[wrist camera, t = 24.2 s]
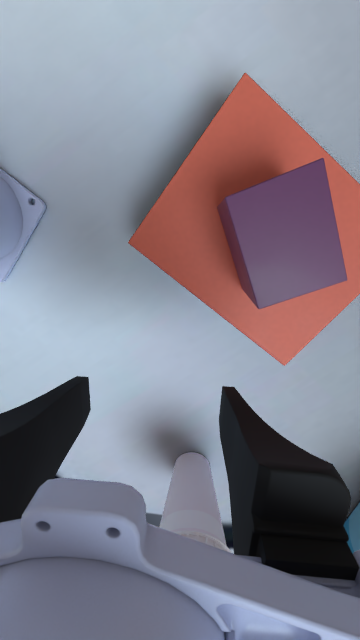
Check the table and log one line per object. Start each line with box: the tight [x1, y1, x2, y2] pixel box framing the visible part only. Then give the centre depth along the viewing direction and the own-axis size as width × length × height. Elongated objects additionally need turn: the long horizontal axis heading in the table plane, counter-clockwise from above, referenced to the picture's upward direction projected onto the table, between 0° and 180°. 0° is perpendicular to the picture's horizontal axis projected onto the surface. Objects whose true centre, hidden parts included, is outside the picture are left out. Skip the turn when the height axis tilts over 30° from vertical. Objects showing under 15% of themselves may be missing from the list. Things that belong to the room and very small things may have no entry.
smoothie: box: [160, 452, 231, 553], centre depth 22 cm, size 6×6×14 cm
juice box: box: [217, 158, 347, 309], centre depth 15 cm, size 4×6×5 cm
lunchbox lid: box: [128, 73, 360, 366], centre depth 18 cm, size 14×11×1 cm
